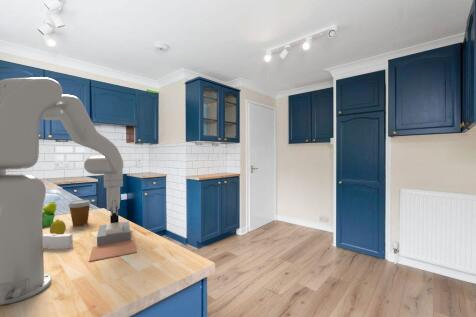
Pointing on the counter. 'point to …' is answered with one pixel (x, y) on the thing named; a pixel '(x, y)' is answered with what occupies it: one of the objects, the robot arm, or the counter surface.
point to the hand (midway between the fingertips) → (114, 223)
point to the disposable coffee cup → (79, 212)
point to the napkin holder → (57, 241)
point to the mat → (112, 250)
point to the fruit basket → (48, 214)
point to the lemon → (57, 227)
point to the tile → (114, 228)
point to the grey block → (113, 235)
